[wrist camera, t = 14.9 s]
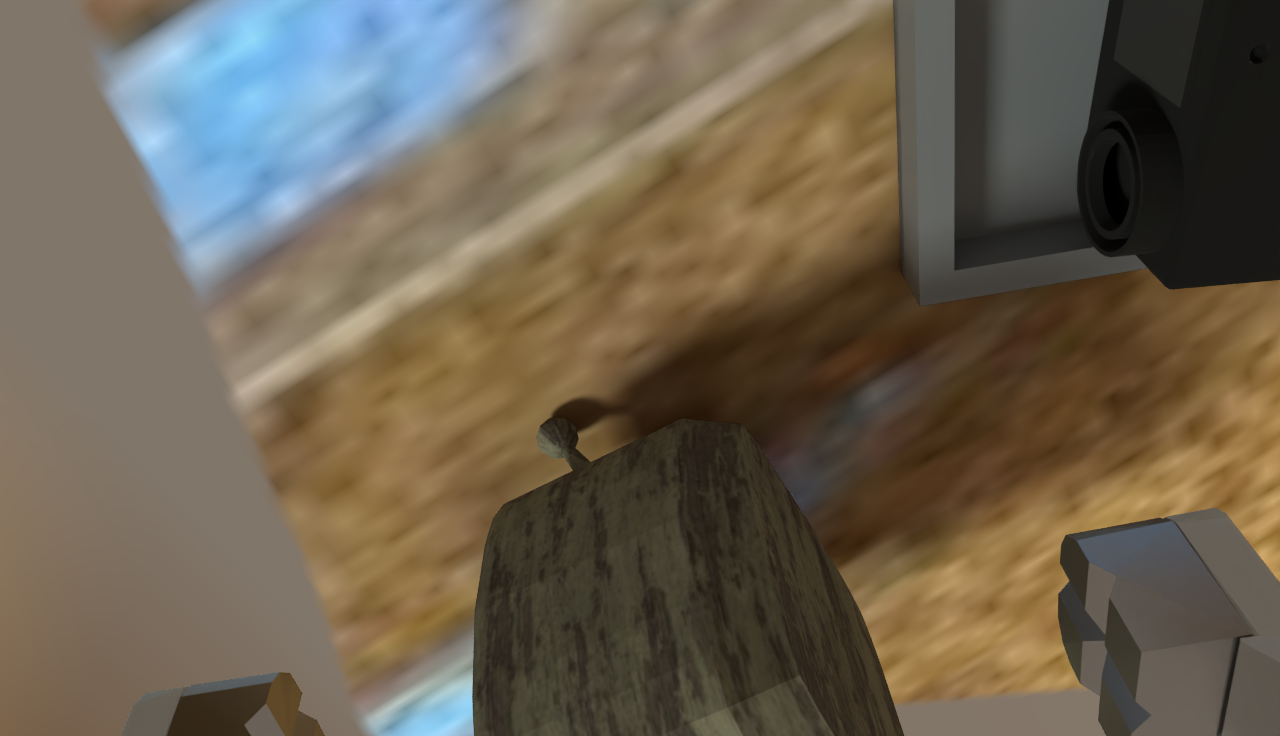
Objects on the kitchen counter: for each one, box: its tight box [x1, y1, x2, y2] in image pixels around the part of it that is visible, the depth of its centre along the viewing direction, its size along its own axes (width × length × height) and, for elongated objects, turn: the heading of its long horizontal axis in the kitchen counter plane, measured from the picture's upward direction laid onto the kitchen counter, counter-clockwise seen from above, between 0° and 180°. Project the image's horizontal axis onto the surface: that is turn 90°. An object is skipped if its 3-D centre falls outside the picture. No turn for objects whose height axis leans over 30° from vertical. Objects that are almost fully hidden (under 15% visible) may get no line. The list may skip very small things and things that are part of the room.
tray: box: [893, 0, 1147, 306], centre depth 35 cm, size 15×13×2 cm
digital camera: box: [1077, 0, 1280, 290], centre depth 32 cm, size 10×5×7 cm, turn 4°
